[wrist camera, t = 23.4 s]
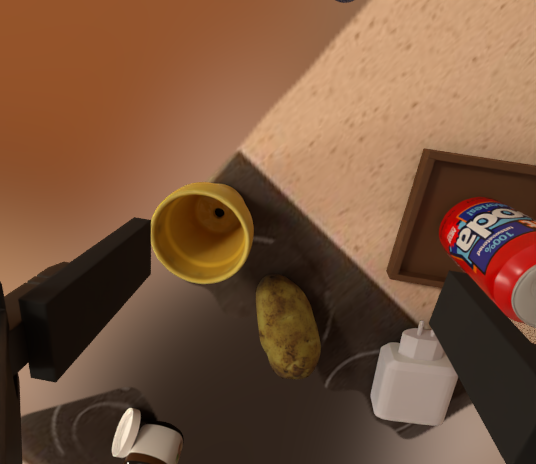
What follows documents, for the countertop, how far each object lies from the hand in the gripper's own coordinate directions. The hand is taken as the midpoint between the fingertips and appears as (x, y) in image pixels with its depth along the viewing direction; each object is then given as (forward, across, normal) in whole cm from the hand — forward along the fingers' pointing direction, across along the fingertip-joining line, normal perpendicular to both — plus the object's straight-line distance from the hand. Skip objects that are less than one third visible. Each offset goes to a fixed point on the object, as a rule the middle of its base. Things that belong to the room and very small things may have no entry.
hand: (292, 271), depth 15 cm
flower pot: (+27, -9, -7) cm, 29 cm away
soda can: (+26, +21, -4) cm, 34 cm away
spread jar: (+27, -17, -49) cm, 58 cm away
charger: (+27, +20, -24) cm, 41 cm away
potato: (+27, +2, -20) cm, 34 cm away
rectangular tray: (+27, +21, -4) cm, 34 cm away
